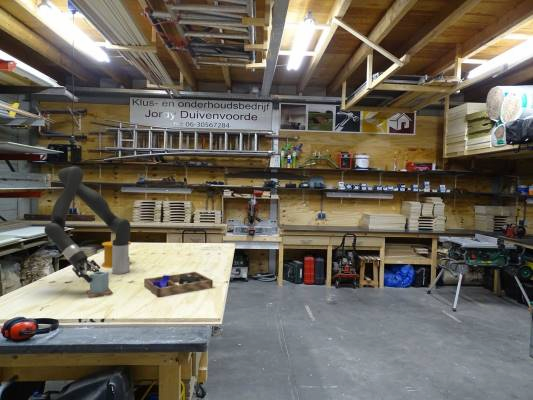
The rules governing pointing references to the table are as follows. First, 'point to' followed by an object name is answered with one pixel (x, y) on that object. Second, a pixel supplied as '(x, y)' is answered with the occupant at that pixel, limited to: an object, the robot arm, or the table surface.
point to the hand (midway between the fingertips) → (96, 279)
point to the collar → (99, 282)
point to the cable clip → (162, 282)
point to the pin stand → (99, 293)
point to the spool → (108, 254)
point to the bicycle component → (189, 279)
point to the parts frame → (176, 288)
